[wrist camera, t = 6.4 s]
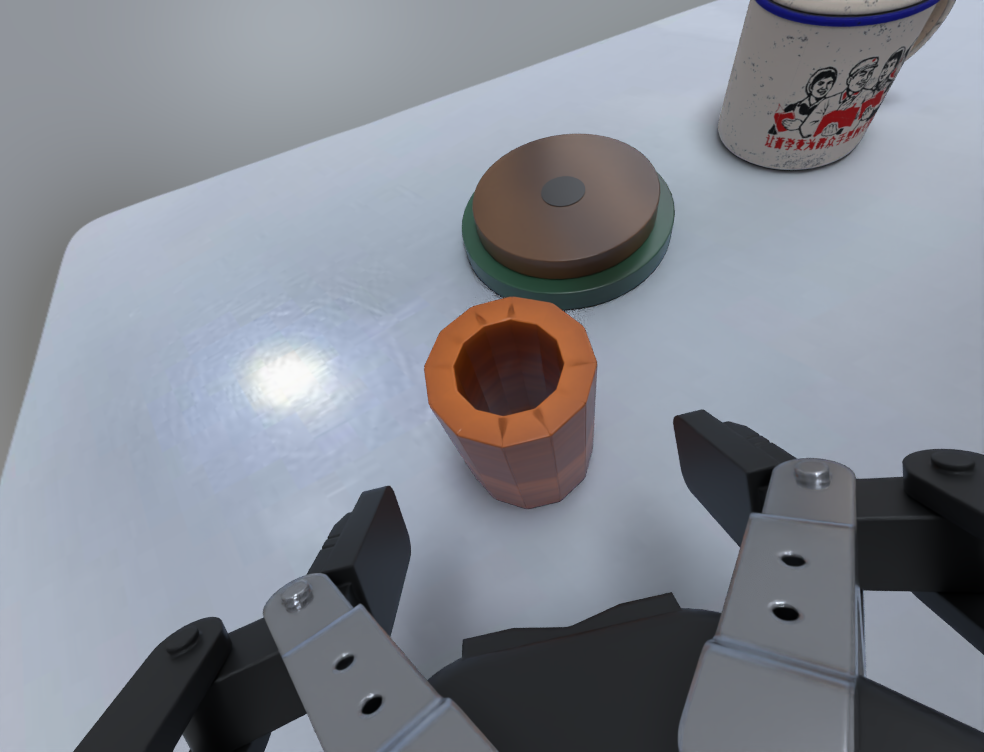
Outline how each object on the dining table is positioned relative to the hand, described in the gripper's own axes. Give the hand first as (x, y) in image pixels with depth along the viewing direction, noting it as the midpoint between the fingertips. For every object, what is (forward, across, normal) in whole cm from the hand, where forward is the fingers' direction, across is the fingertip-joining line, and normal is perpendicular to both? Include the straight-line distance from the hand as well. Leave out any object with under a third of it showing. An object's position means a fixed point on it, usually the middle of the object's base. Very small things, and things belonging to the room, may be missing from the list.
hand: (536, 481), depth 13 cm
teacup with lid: (+22, -23, -9) cm, 34 cm away
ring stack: (+20, -6, -7) cm, 22 cm away
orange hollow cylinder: (+10, 0, +3) cm, 10 cm away
